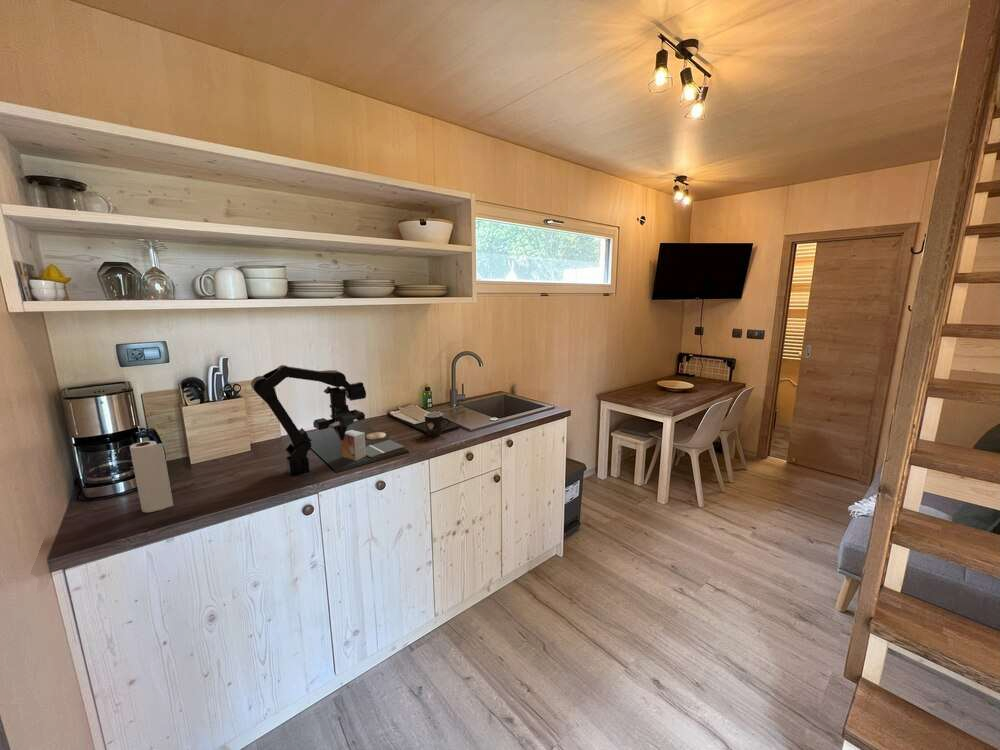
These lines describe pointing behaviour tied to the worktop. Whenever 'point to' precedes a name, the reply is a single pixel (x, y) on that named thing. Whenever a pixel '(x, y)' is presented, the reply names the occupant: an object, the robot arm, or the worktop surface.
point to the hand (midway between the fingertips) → (341, 440)
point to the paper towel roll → (151, 476)
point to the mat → (382, 448)
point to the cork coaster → (375, 436)
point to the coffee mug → (434, 423)
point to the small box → (354, 445)
